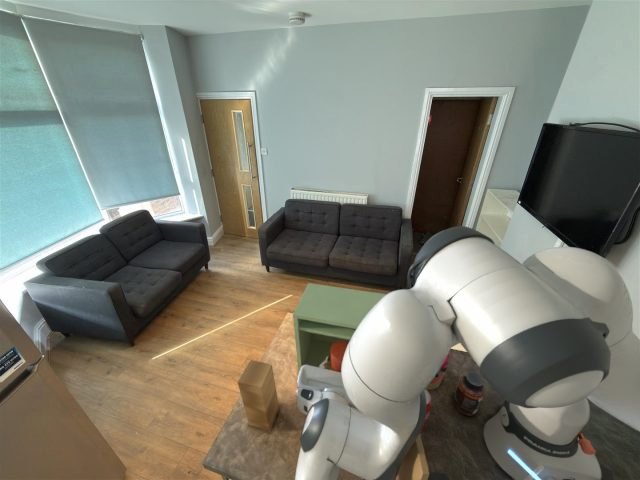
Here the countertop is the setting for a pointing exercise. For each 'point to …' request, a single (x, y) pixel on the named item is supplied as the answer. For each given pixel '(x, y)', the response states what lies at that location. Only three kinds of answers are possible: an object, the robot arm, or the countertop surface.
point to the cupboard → (328, 320)
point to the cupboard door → (417, 465)
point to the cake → (438, 375)
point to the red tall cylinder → (337, 355)
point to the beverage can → (429, 405)
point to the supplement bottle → (469, 393)
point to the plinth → (259, 394)
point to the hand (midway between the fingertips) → (341, 360)
